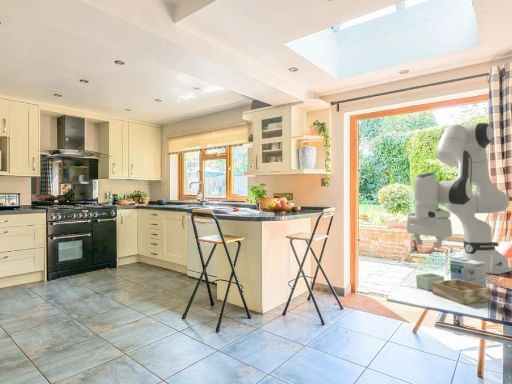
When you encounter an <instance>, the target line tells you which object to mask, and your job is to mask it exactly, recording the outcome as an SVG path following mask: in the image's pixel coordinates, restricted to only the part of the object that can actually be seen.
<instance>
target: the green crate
mask: <svg viewBox="0 0 512 384" xmlns="http://www.w3.org/2000/svg"><path fill="white" fill-rule="evenodd" d="M415 280H416V287H417V288H418V289H421V290H423V291H426V292H431V291H432V292H433V287H432V282H438V281H445V276H443V275H439V274H436V273H433V272H431V273H423V274H416V277H415Z"/></svg>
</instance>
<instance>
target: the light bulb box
mask: <svg viewBox="0 0 512 384" xmlns="http://www.w3.org/2000/svg"><path fill="white" fill-rule="evenodd" d="M449 263H450V265H449V267H450V268H449V269H450V270H449V272H450V280H454V279H459V280H463V281H467V282H470V283H474V284H478V285H481V286H485V287H488V286H487V273H486V263H485V262H481V261H475V260H469V259H463V257H462V258H461V257H459V258H458V257H457V258H454V259H453V258H451V259H450V260H449Z"/></svg>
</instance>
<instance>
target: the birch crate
mask: <svg viewBox="0 0 512 384" xmlns="http://www.w3.org/2000/svg"><path fill="white" fill-rule="evenodd" d="M432 287H433V291H432V295H435V296H438V297H441V298H443V299H446V300H449V301H452V302H455V303H458V304H460V305H471V304H478V303H483V302H490V301H492V297H491V295H492V294H491V287H488V286H487V287H485V286H481V285H478V284H474V283H470V282H467V281H463V280H459V279H454V280H451V279H448V280H444V281H438V282H432Z"/></svg>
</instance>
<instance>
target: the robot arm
mask: <svg viewBox="0 0 512 384" xmlns="http://www.w3.org/2000/svg"><path fill="white" fill-rule="evenodd" d="M493 138H494V130H493V128H492V126H491V124H489V123H487V122H479V123H476V124H475V123H474V124H466V125H461V124H451V125H450V126H447V127H446V128H445V130H444V131H442V132H441V134H440V135H439V138H438V139H439V141H438V143H437V146H436V150H435V154H436V158H437V159H438V160H439V161H440V162H442V163H444V164H445V165H448V166H453V167H454V166H455V167H457V178H455V179H453V180H441V181H439V180H437V176H436V173H432V172H429V173H427V172H426V173H422V174H421V173H420V174H417V175H415V177H414V180H413V197H414V206H413V207H414V211H411V212H410V213H409V214H408V215H407V220H406V221H407V222H406V231H407V234H413V237H414V239H415V241H416V245H417V246H419V245H420V246H423V240H422V239H421V236H428V237H435V239H436V242H434V243H433V245H434V248H435V249H441V248H442V242H443V241H444V238H450V237H451V236H452V234H453V225H452V220H451V219H450V217H451V214H454V215H455V216H456V217H457V218H458V220H459V222H461V225H462V228H463V229H462V230H463V234H464V240H463V248H464V250H463V254H462V255H463V256H462V258H463V259H469V260H475V261H481V262H485V263H486V274H494V275H500V274H504V273H508V272H509V273H510V272H512V266H509V263H508V259H507V256H505V255H504V254H502V253H501V252H499V251H498V250H497V249H496V247H499V246H500V243H499V242H497V241H496V242H495V241H493V239H492V238H493V236H492V227H491V225H490V224H489V223H488V222H486V221H484V220H482V219H479V218H477V217H476V214H495V213H502V212H505V211H506V210H507V209H508V208H509V206H510V198H509V196H508V195H507V194H506V193H505V192H504V191H502V190H501V189H499V188H497V187H496V186H495V184H494V183H493V182H492V180H491V178H490V177H491V176H490V175H489V174H490V172H489V165H488V164H489V163H488V154H487V150H486V148H487V147H488V146H489V145H490V143H491V142H492V141H493ZM473 186H474V187H475V188H476V190H474V191H473V188H472V187H473ZM440 205H445V207H446V209H447V210H445V209H443V208H441V207H440Z"/></svg>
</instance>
